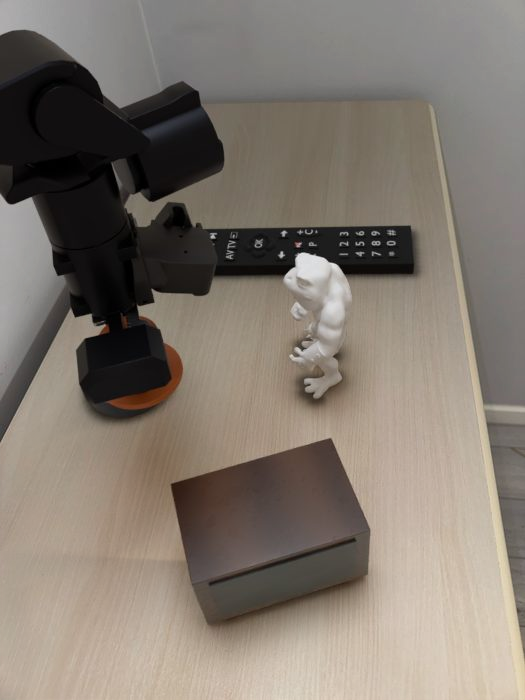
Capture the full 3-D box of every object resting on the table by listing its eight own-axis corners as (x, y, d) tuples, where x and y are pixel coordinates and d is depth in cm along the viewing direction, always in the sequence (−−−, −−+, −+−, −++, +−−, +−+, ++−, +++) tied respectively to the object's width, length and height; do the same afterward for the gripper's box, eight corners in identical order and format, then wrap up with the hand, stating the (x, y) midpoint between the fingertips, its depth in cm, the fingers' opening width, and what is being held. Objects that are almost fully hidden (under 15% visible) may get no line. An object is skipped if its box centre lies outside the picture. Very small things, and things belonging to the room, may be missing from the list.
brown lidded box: (210, 632, 56) (191, 587, 49) (188, 534, 62) (170, 483, 56) (368, 582, 58) (371, 532, 51) (332, 492, 64) (331, 437, 57)
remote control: (172, 238, 92) (169, 226, 91) (409, 234, 88) (410, 222, 87) (161, 275, 87) (158, 263, 86) (413, 273, 83) (414, 261, 82)
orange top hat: (102, 419, 57) (85, 381, 53) (94, 356, 62) (78, 317, 58) (190, 396, 58) (179, 357, 54) (175, 335, 63) (164, 296, 59)
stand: (92, 427, 72) (85, 412, 70) (84, 367, 78) (78, 352, 76) (174, 404, 73) (170, 390, 71) (160, 347, 79) (156, 332, 77)
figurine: (356, 405, 70) (358, 301, 59) (293, 409, 71) (282, 306, 60) (347, 331, 78) (347, 225, 67) (290, 334, 78) (280, 230, 67)
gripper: (226, 280, 42) (252, 427, 54) (176, 135, 55) (206, 279, 66) (48, 323, 41) (113, 464, 52) (39, 165, 54) (93, 307, 65)
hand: (137, 368), depth 59 cm, fingers closed on orange top hat, 5 cm apart
